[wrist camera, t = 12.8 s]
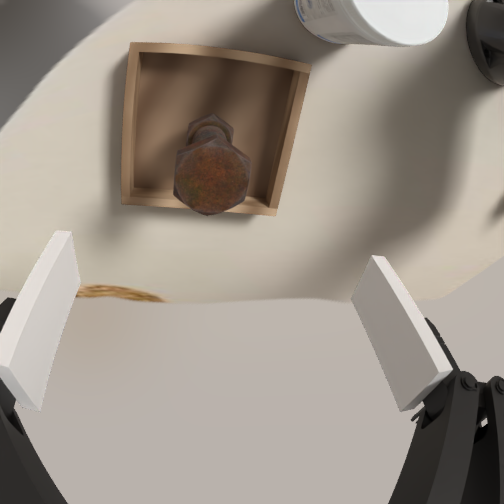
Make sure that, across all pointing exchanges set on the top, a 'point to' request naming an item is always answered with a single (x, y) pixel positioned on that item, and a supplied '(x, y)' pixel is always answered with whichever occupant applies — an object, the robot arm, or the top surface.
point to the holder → (203, 103)
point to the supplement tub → (374, 20)
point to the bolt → (211, 168)
